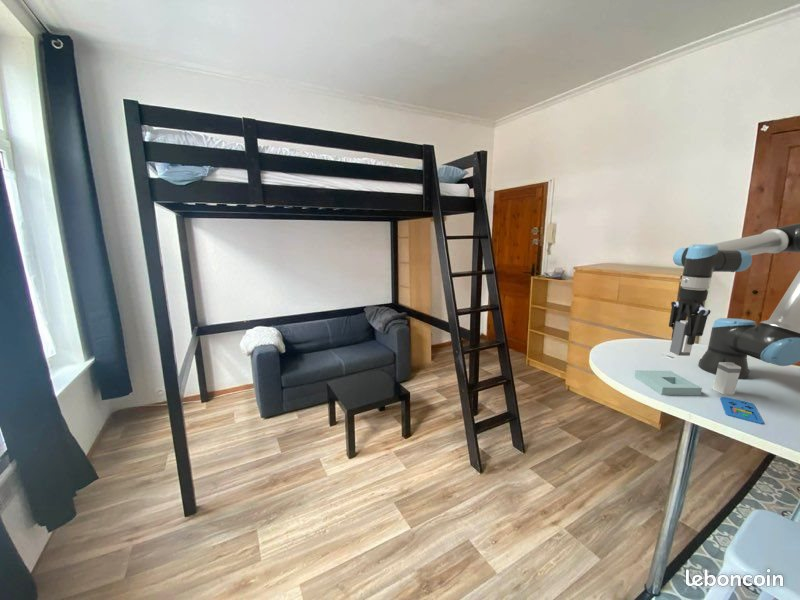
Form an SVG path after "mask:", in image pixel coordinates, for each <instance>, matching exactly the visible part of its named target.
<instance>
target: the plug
mask: <svg viewBox="0 0 800 600" xmlns="http://www.w3.org/2000/svg"><path fill="white" fill-rule="evenodd" d="M687 333H688V320H680V321H676V324H675V328H674V333H673V332H672V334H673V338H672V337H671V338H672V339H671V343H670V348H669V352H670V353H672V354H675V355H677V356H681V357H682V356H683V357H684V356H687V357H690V356H691V352H681V351H682V346H683V342H684V337H685V334H687ZM692 333H693V332H692Z"/></svg>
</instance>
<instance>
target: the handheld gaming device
mask: <svg viewBox="0 0 800 600" xmlns="http://www.w3.org/2000/svg"><path fill="white" fill-rule="evenodd" d="M719 400H720V402H721V405H722V408H723V410H724V413H725V415H726V416H728V417H732V418H734V419H739V420H744V421H746V422H750V423H755V424H759V425H764V421H763V419H762V416H761V415H760V414H759V412H758V410H757V408H756V406H755V405H754V403H753V402H750V401H745V400H741V399H737V398H732V397H728V396H721V397H720V398H719Z"/></svg>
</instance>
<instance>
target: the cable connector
mask: <svg viewBox="0 0 800 600" xmlns="http://www.w3.org/2000/svg"><path fill="white" fill-rule="evenodd" d="M740 371H741V367H740V366H738V365H735V364H734V363H730V362H719V364H718V367H717V373H716V374H715V377H714V381H713V384H712V385H713V386H712V390H714V391H716V392H717V393H720V394H721V395H735V392H736V388H737V385H738V381H739V379H740V378H739V374H740Z"/></svg>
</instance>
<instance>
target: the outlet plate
mask: <svg viewBox="0 0 800 600" xmlns="http://www.w3.org/2000/svg"><path fill="white" fill-rule="evenodd" d="M634 378H635V379H637V380H639V381H640V382H641V383H643V384H644V385H645V386H647V387H649V388H650V389H652V390H653V391H655V392H656V393H658V394H660V395H661V396H701V394H702V389H703V387H701V386H700V385H697V383H696V384H695V383H694V382H692V381H690V380H688V379H686V378H684V377H683V376H680V375H679V374H677V373H675V372H673V371H672V370H644V369H643V370H640V369H639V370H635V372H634Z"/></svg>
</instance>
